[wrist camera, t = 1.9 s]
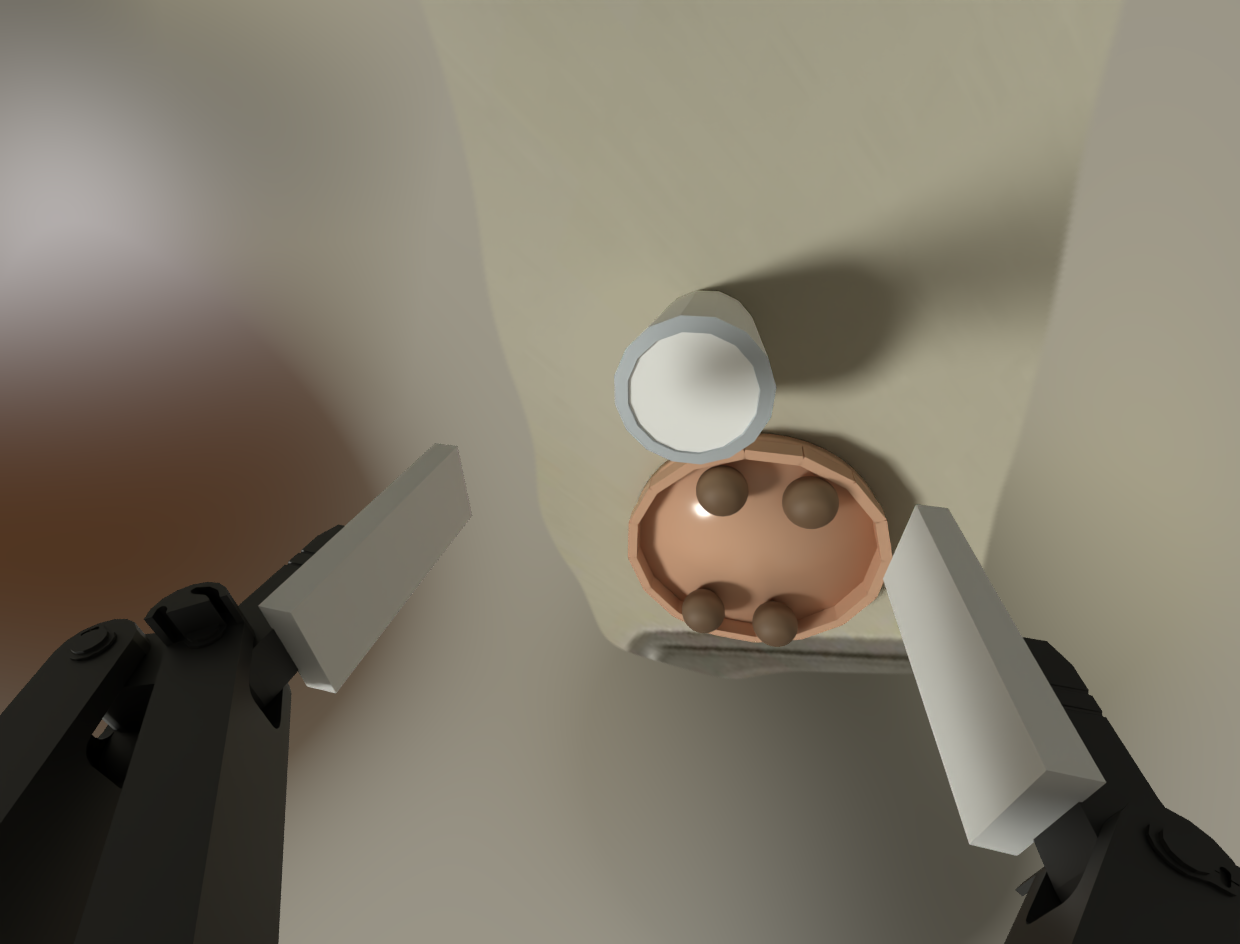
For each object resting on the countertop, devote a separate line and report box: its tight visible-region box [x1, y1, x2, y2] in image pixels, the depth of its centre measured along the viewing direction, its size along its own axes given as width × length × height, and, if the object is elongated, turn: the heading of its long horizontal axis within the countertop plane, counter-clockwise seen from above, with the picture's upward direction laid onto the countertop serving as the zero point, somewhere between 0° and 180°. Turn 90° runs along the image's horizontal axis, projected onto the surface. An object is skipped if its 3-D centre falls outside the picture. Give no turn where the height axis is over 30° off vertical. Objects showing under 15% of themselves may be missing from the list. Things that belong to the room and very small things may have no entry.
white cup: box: [614, 290, 776, 464], centre depth 23 cm, size 7×7×7 cm
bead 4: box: [782, 476, 839, 529], centre depth 27 cm, size 3×3×3 cm
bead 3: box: [752, 601, 798, 647], centre depth 33 cm, size 3×3×3 cm
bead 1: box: [696, 465, 749, 517], centre depth 28 cm, size 3×3×3 cm
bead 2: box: [682, 589, 725, 633], centre depth 34 cm, size 3×3×3 cm
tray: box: [628, 433, 892, 642], centre depth 31 cm, size 16×16×2 cm
